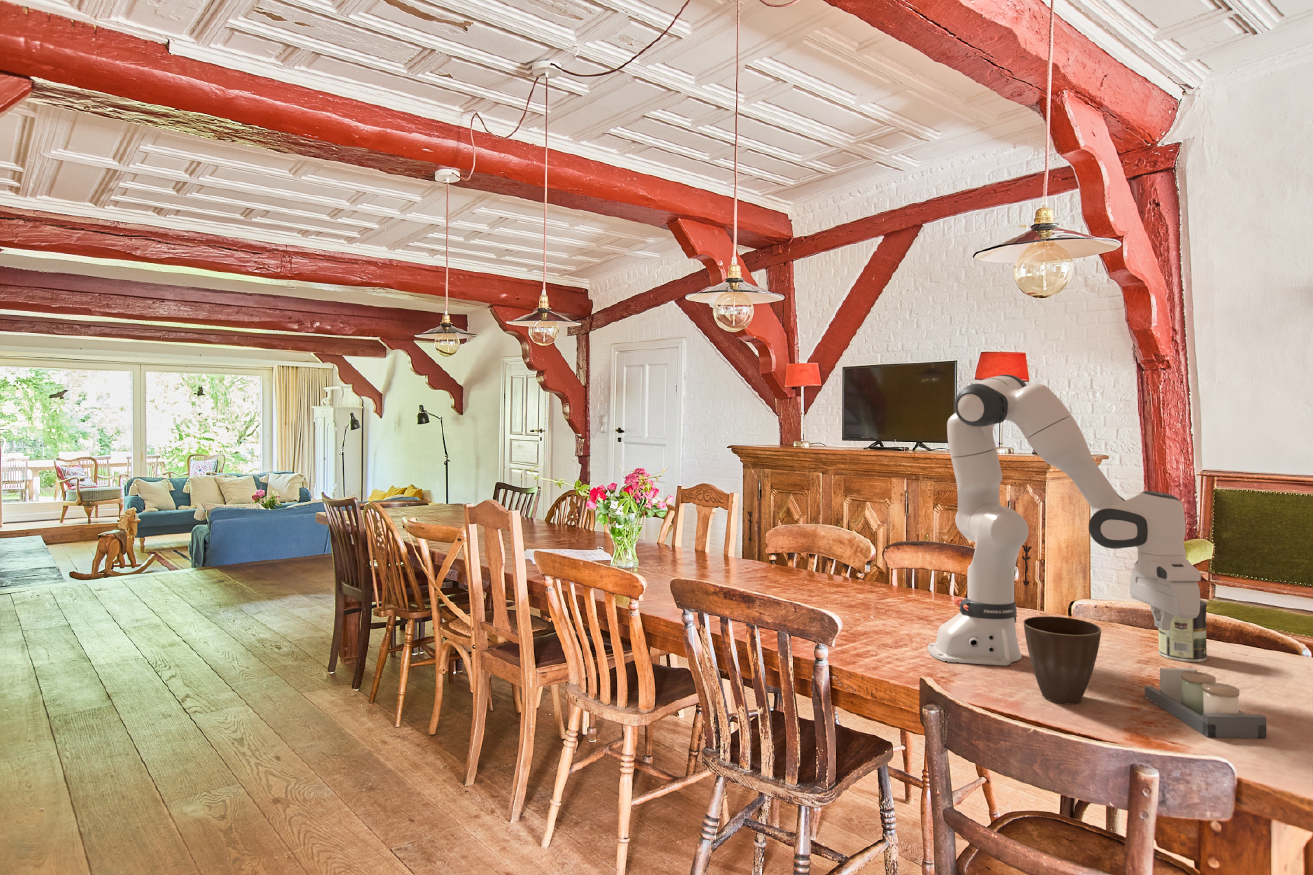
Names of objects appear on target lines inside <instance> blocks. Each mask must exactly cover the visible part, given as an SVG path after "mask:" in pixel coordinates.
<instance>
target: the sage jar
mask: <svg viewBox="0 0 1313 875" xmlns="http://www.w3.org/2000/svg"><path fill="white" fill-rule="evenodd" d="M1181 678H1182V703H1181V704H1183V705H1184V706H1186V707H1188V708H1189V709H1191V710H1193V711H1194V712H1196V713H1198V714H1199V715H1201V716H1203V689H1202V684H1203V683H1209V682H1213V683H1217V678H1216V677H1215V676H1214V675H1212V674H1209V673H1206V672H1201V671H1197V672H1195V671H1184V672H1181Z"/></svg>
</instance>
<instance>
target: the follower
mask: <svg viewBox="0 0 1313 875" xmlns="http://www.w3.org/2000/svg"><path fill="white" fill-rule="evenodd" d="M1184 671H1195V672H1198V669H1196V668H1194V667H1189V668H1188V667H1187V668H1186V667H1178V668H1177V667H1159V691H1161V692H1163V693H1164V694H1166V695H1168V696H1169V697H1171V698H1173V699H1174V700H1176V701H1178V702H1179V703H1181V704H1182V678H1181V672H1184Z"/></svg>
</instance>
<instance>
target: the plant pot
mask: <svg viewBox="0 0 1313 875" xmlns="http://www.w3.org/2000/svg"><path fill="white" fill-rule="evenodd" d="M1023 629H1024V635H1025V636H1024V637H1025V641H1026V642H1025V643H1026V647H1027V651H1028V652H1027V653H1028V656H1029V659H1030V664H1031V667H1032V670H1033V674H1034V677H1035V680H1036V682H1037V684H1038V688H1039V690H1040V693H1041V695H1042V697H1043V696H1044V697H1046V698H1047V699H1046V698H1045V699H1046V700H1048V699H1050V700H1052V701H1051V702H1053V701H1055V702H1054V703H1057V702H1059V703H1058V704H1063V703H1075V704H1079V703H1080V702H1081V701H1082V699H1083V697H1084V695H1085V692H1086V690H1087V687H1088V686H1089V683H1090V681H1091V678H1092V675H1093V672H1094V668H1095V665H1096V662H1097V657H1098V652H1099V647H1100V643H1101V642H1100V641H1101V635H1102V628H1101V627H1100V626H1099V625H1097V624H1095V623H1092V622H1089V621H1086V620H1082V619H1078V618H1071V617H1065V616H1050V615H1048V616H1047V615H1045V616H1043V615H1042V616H1032V617H1028V618H1026V619H1024V620H1023ZM1044 697H1043V698H1044ZM1050 700H1049V701H1050ZM1078 702H1079V703H1078Z"/></svg>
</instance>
